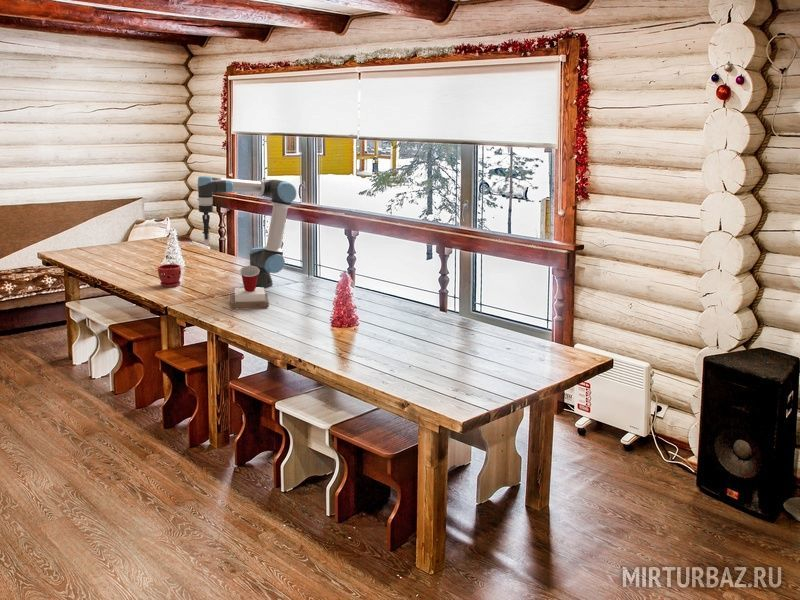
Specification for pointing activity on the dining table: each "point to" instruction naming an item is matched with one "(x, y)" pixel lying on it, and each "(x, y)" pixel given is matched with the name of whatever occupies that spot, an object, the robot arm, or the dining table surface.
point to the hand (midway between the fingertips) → (206, 243)
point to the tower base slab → (249, 303)
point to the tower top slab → (249, 295)
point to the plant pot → (169, 275)
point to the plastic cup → (249, 277)
